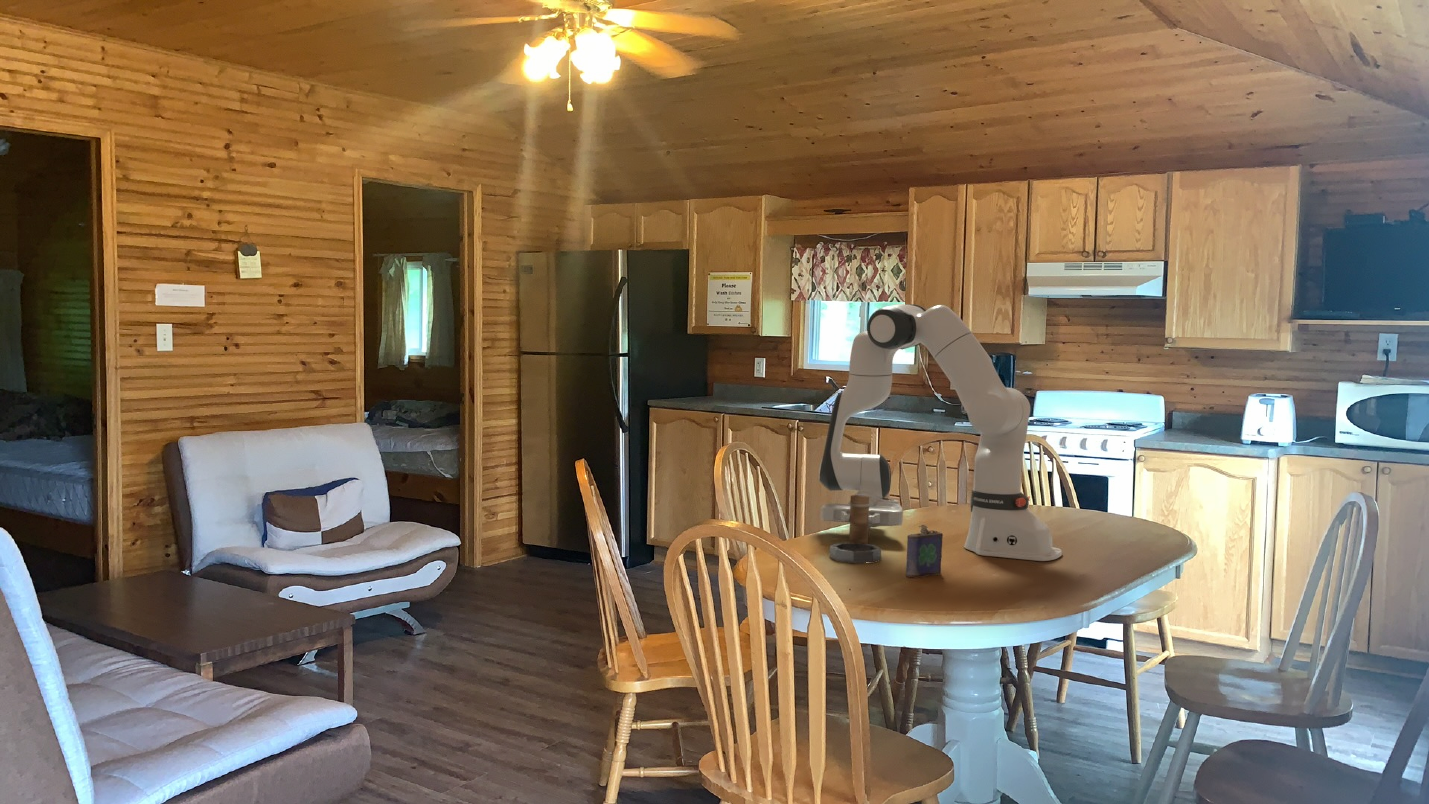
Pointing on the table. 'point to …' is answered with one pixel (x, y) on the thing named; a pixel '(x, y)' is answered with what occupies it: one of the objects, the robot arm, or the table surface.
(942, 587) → the table surface
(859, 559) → the ring
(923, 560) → the flask
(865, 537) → the brown wooden cylinder
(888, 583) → the table surface
